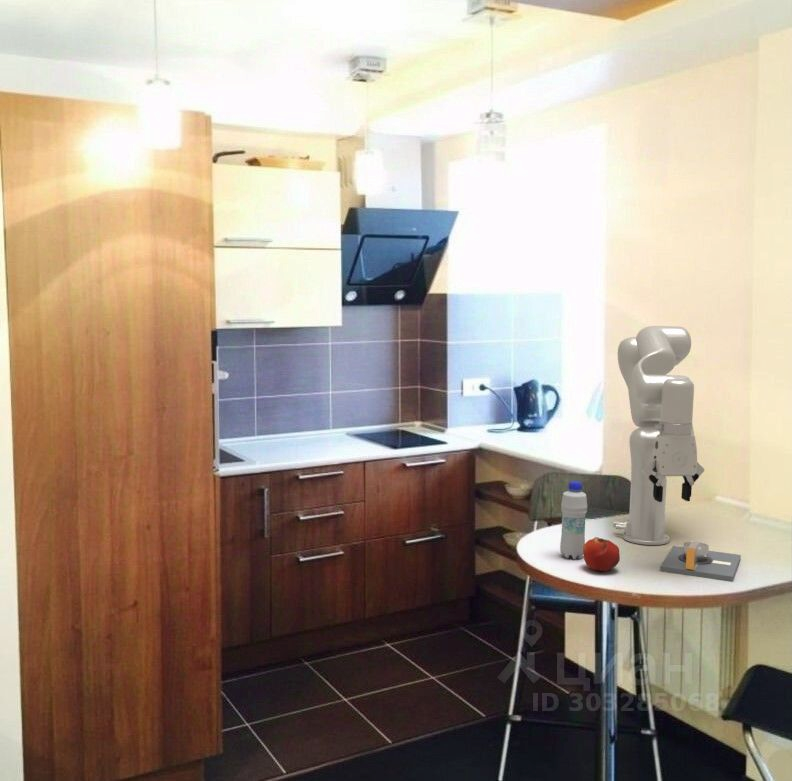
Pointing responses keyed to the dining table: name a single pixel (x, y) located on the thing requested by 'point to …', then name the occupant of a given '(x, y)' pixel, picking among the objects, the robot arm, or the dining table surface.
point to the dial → (695, 553)
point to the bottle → (573, 521)
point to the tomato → (601, 554)
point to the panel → (703, 565)
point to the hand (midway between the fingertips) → (671, 499)
